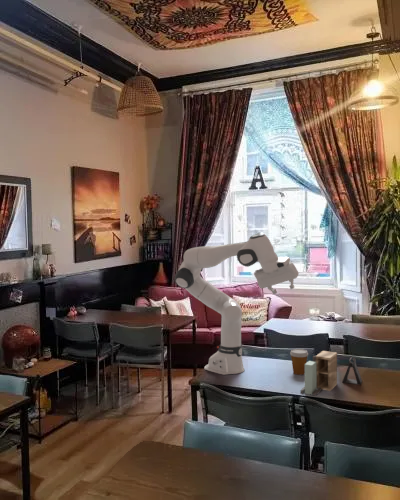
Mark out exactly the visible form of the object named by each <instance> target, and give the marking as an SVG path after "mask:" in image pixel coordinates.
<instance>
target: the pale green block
mask: <svg viewBox="0 0 400 500" xmlns="http://www.w3.org/2000/svg"><path fill="white" fill-rule="evenodd" d="M304 387H305V392H304V394H306V395H310V394H311V396H313V392H314V391H315V390H316V389H317V374H316V362H314V361H313V360H308V361H307V363H306V364H305V374H304Z"/></svg>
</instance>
